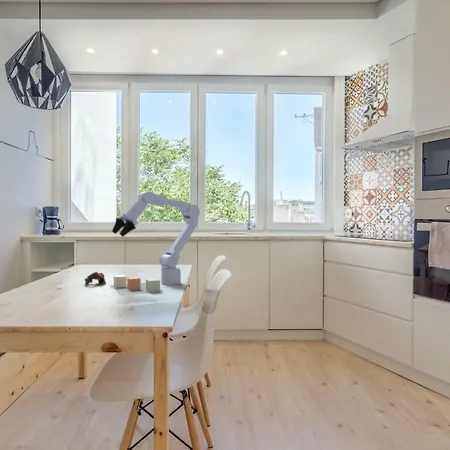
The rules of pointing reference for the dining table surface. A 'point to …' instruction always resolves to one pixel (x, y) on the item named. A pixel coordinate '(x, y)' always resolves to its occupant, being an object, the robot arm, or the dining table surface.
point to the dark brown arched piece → (95, 276)
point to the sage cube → (152, 285)
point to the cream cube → (120, 281)
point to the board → (129, 292)
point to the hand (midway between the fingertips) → (117, 233)
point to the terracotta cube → (133, 283)
